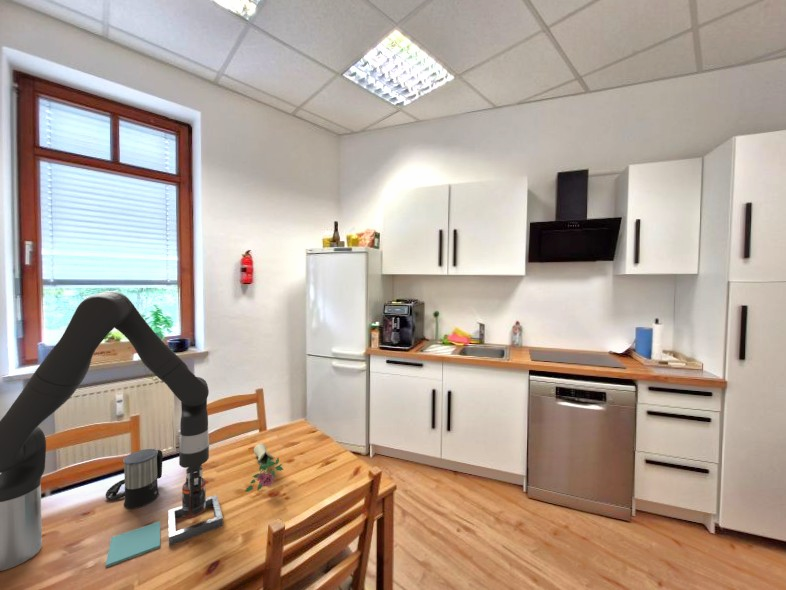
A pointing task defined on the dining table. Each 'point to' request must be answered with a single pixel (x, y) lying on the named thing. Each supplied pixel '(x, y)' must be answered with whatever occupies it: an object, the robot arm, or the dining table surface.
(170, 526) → the grey square frame
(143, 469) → the milk frother
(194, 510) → the supplement bottle
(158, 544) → the teal mat
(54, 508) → the dining table surface
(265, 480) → the flower vase
